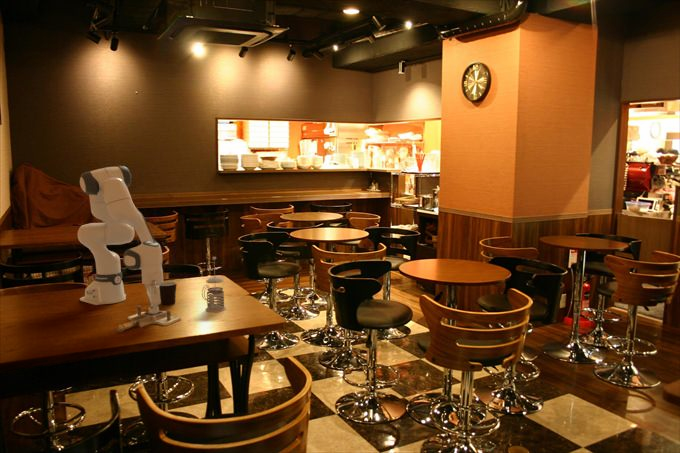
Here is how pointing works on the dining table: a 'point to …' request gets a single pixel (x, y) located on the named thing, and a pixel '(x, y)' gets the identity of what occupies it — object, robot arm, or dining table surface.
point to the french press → (214, 295)
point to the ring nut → (150, 311)
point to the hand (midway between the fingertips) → (154, 309)
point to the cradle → (153, 318)
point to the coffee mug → (167, 293)
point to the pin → (127, 325)
